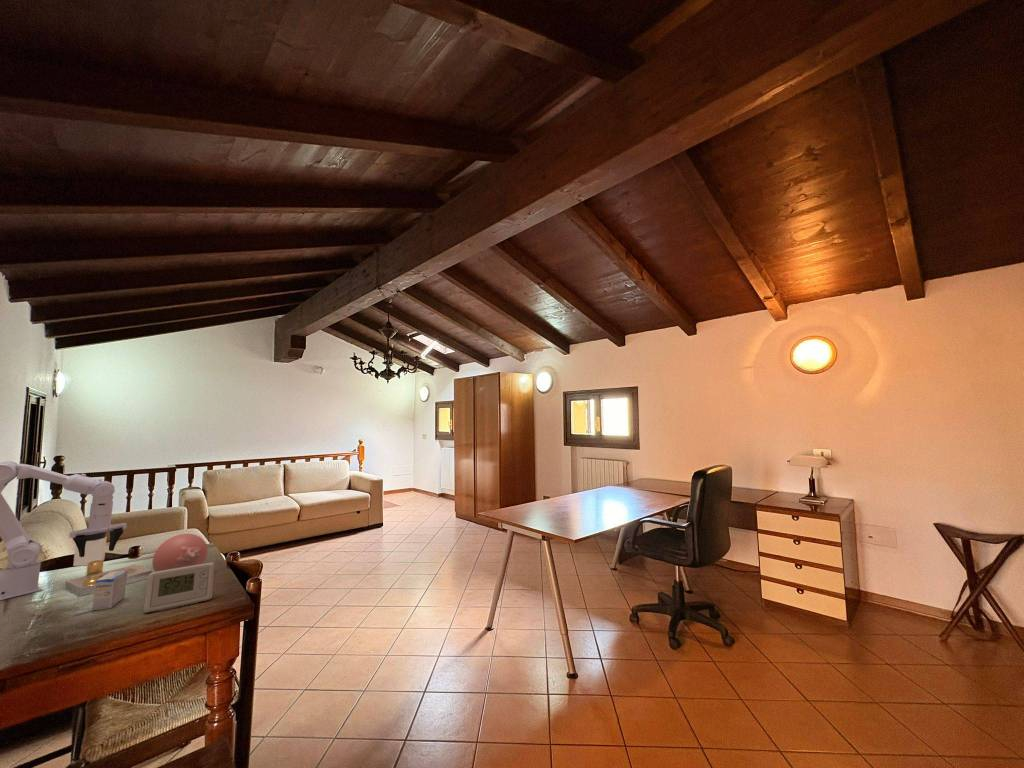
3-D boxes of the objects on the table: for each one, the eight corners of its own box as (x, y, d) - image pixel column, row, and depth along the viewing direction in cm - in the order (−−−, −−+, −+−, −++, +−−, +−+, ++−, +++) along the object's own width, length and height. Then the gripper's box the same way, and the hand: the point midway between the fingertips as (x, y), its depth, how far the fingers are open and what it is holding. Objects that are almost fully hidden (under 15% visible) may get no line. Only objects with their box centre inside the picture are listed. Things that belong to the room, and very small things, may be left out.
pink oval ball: (159, 593, 128) (164, 545, 130) (145, 580, 140) (149, 535, 142) (216, 579, 140) (219, 534, 142) (198, 567, 152) (202, 527, 154)
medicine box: (106, 600, 123) (109, 571, 124) (124, 598, 125) (127, 569, 126) (91, 611, 116) (95, 580, 117) (111, 608, 118) (114, 578, 119)
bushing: (88, 581, 139) (90, 564, 140) (83, 580, 141) (85, 562, 141) (103, 578, 142) (105, 560, 143) (99, 576, 144) (101, 559, 145)
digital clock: (139, 615, 113) (142, 577, 114) (152, 603, 121) (155, 567, 122) (208, 604, 120) (210, 568, 121) (216, 593, 128) (218, 559, 129)
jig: (79, 596, 126) (81, 585, 127) (64, 588, 133) (66, 577, 133) (150, 577, 142) (151, 567, 143) (134, 571, 149) (135, 561, 149)
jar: (100, 558, 165) (103, 528, 167) (108, 560, 161) (111, 530, 163) (69, 564, 157) (73, 533, 159) (76, 567, 154) (80, 536, 155)
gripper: (76, 520, 136) (71, 561, 134) (131, 512, 149) (127, 549, 147) (69, 518, 139) (64, 558, 138) (123, 510, 152) (120, 547, 150)
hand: (96, 553), depth 143 cm, fingers open, 7 cm apart
